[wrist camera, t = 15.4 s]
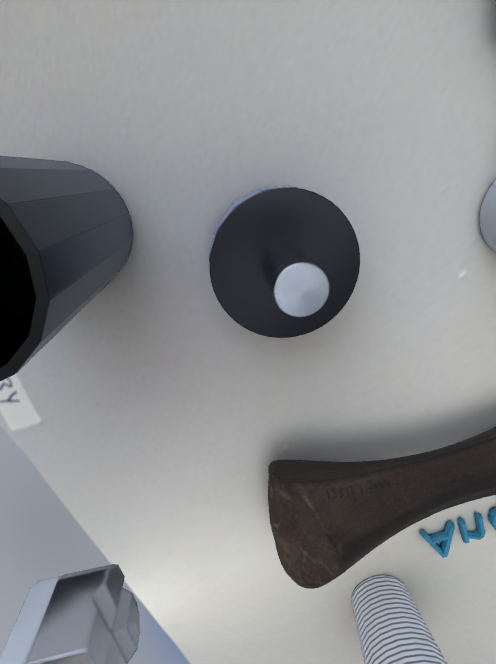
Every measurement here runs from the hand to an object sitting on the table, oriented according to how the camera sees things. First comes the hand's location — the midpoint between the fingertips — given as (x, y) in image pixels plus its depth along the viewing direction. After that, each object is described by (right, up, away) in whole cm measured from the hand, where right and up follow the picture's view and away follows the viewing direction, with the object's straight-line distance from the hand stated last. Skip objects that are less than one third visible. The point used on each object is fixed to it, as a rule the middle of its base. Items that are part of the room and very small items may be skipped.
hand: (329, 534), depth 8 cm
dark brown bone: (+13, -7, +31) cm, 34 cm away
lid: (+1, +8, +20) cm, 22 cm away
